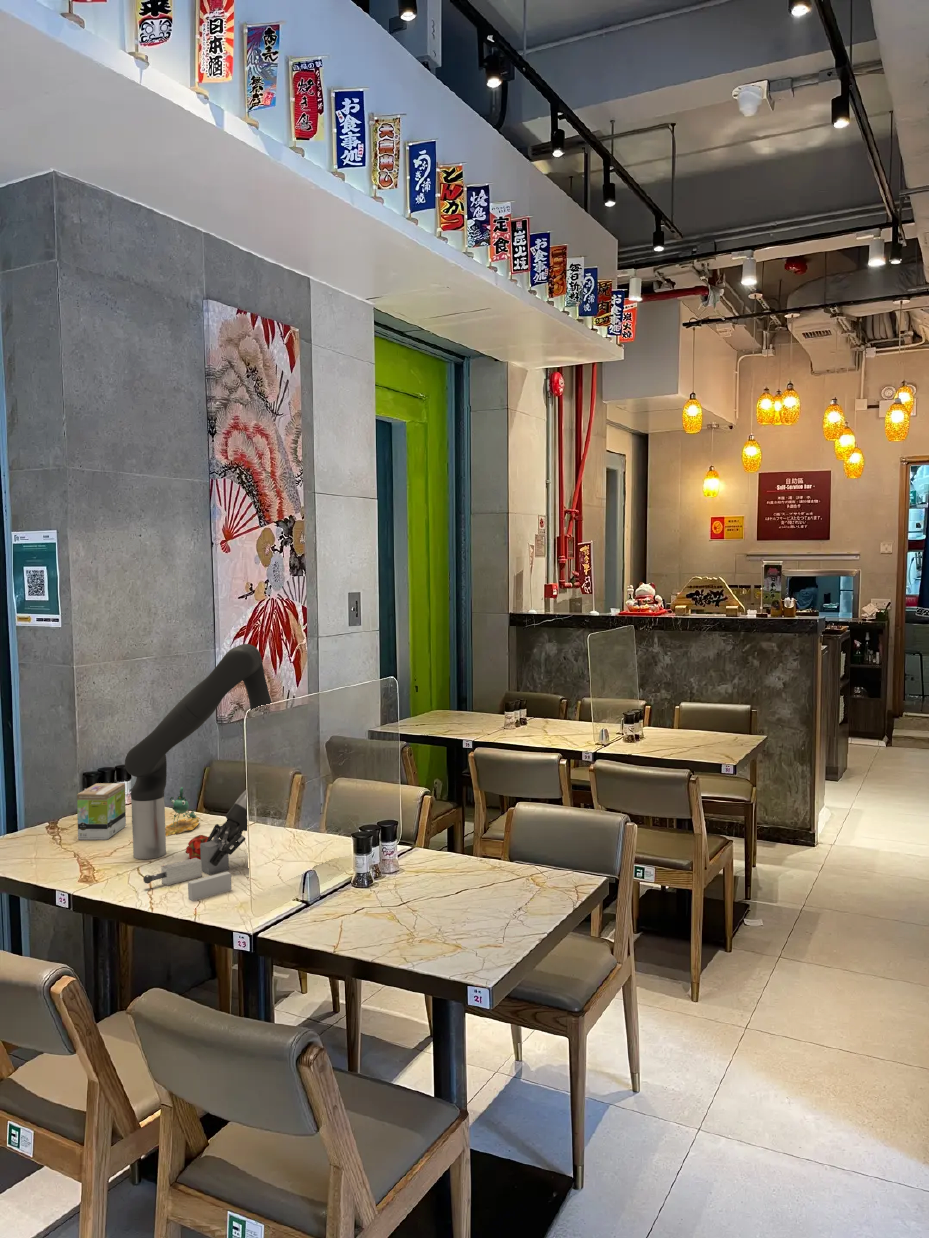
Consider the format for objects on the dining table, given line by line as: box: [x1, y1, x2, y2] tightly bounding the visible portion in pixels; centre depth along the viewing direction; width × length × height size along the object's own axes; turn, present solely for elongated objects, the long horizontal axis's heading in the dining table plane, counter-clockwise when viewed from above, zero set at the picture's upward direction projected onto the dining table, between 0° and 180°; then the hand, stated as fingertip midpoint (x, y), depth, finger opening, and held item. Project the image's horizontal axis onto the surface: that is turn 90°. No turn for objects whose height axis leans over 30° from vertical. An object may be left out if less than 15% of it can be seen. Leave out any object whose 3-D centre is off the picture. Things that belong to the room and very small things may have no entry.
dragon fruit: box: [184, 834, 209, 860], centre depth 270 cm, size 8×8×12 cm
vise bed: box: [187, 871, 232, 902], centre depth 248 cm, size 22×11×6 cm, turn 43°
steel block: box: [200, 838, 230, 876], centre depth 259 cm, size 4×6×9 cm
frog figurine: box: [165, 786, 200, 837], centre depth 303 cm, size 10×18×15 cm, turn 153°
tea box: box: [76, 782, 127, 841], centre depth 300 cm, size 15×10×15 cm
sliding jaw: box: [143, 858, 203, 886], centre depth 250 cm, size 3×16×4 cm, turn 133°
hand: (208, 861), depth 258 cm, fingers closed on steel block, 4 cm apart
